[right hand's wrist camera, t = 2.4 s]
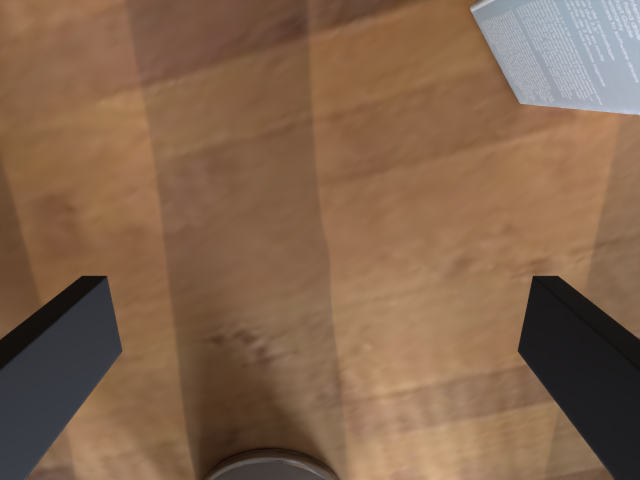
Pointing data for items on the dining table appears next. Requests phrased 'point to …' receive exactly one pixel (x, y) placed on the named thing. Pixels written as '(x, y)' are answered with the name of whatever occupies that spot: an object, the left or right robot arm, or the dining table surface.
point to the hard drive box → (567, 51)
